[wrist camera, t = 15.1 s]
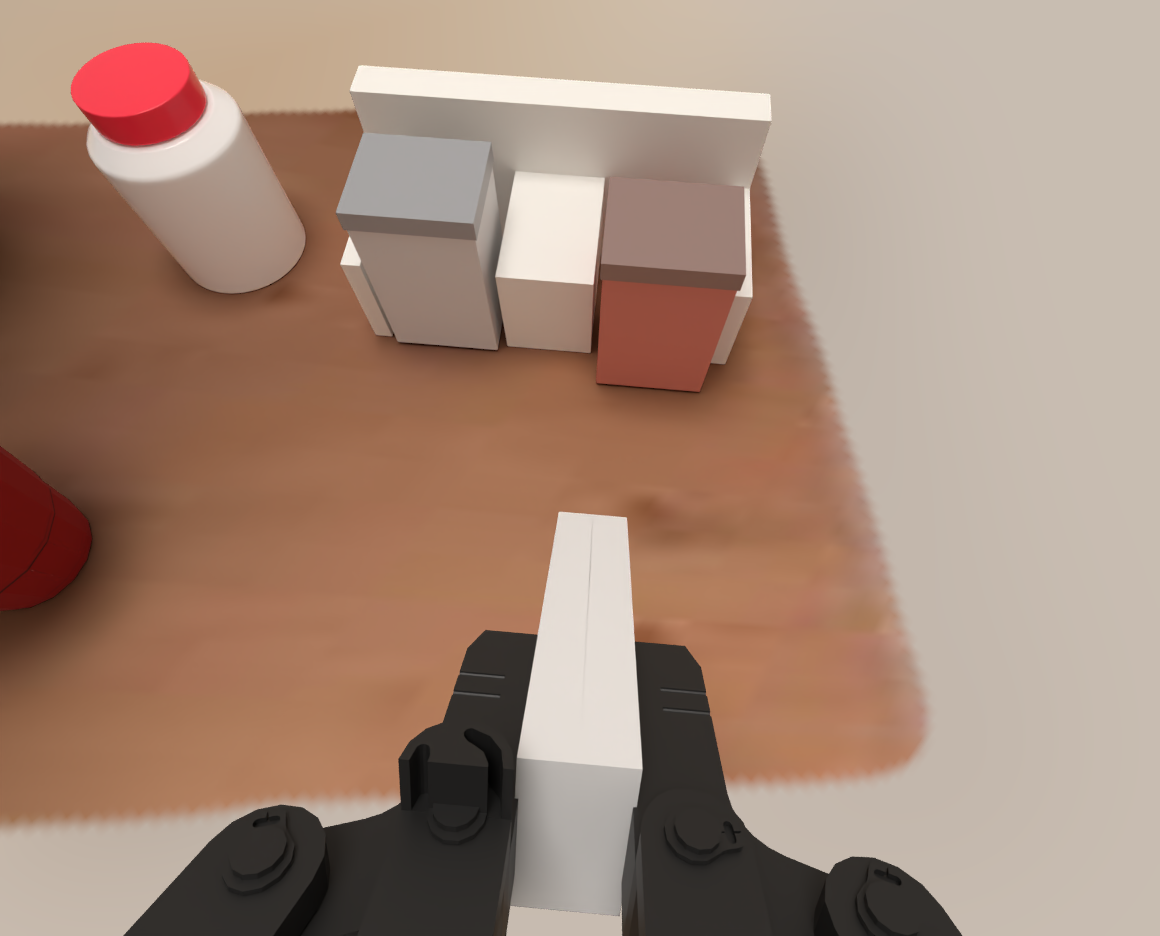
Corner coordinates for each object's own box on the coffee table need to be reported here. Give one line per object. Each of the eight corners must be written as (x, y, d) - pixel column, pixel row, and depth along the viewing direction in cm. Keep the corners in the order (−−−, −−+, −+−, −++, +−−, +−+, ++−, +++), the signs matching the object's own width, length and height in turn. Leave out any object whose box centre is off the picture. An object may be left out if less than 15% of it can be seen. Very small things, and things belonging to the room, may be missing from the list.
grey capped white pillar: (395, 343, 36) (335, 213, 27) (413, 274, 38) (363, 132, 29) (499, 351, 35) (473, 223, 26) (511, 282, 38) (491, 142, 29)
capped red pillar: (594, 384, 35) (601, 263, 26) (601, 311, 37) (610, 176, 28) (701, 393, 34) (746, 275, 25) (702, 319, 36) (744, 186, 28)
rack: (375, 335, 36) (308, 201, 27) (408, 217, 40) (359, 65, 31) (725, 364, 35) (777, 237, 26) (724, 242, 39) (770, 93, 30)
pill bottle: (330, 246, 39) (244, 78, 29) (226, 315, 37) (94, 158, 27) (262, 185, 41) (161, 8, 31) (160, 246, 39) (15, 77, 29)
